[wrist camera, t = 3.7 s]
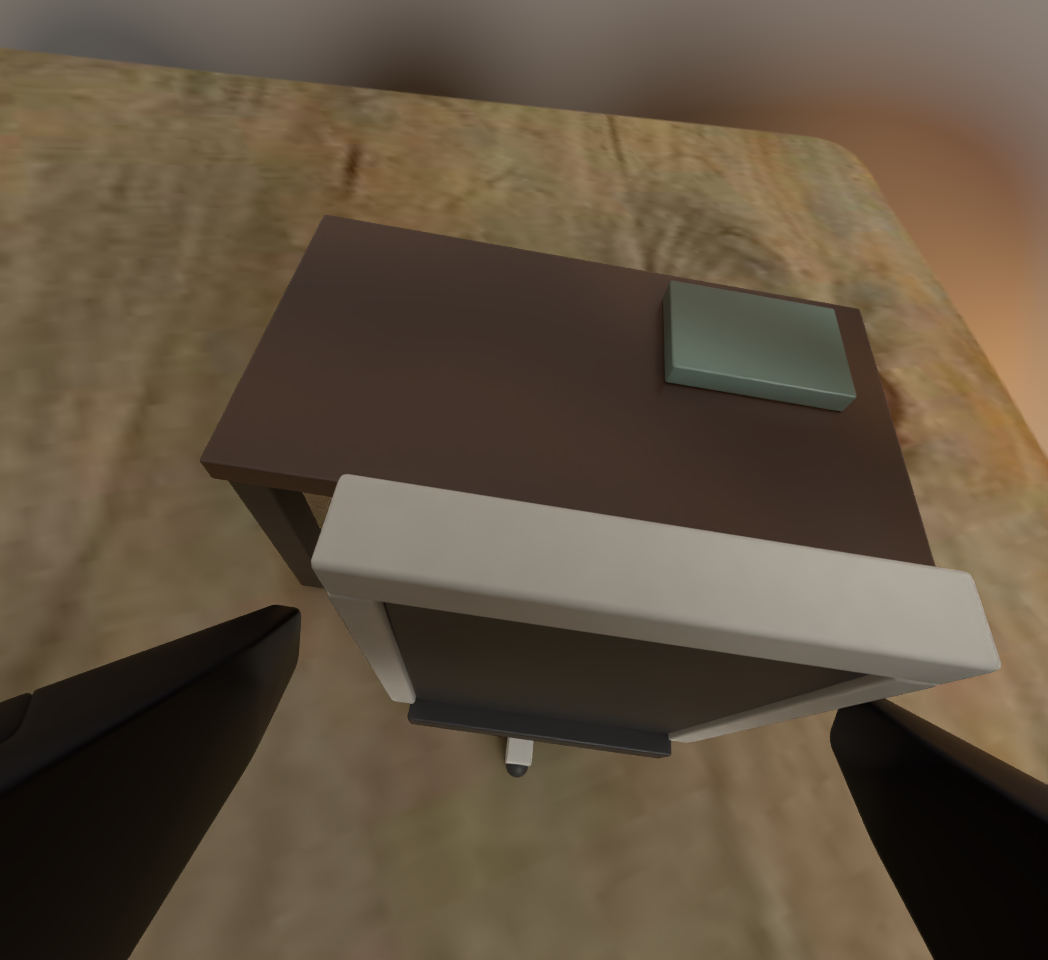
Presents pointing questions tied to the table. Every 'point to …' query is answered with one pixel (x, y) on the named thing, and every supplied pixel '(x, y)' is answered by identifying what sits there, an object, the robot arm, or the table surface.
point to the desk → (563, 396)
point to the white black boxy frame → (625, 621)
